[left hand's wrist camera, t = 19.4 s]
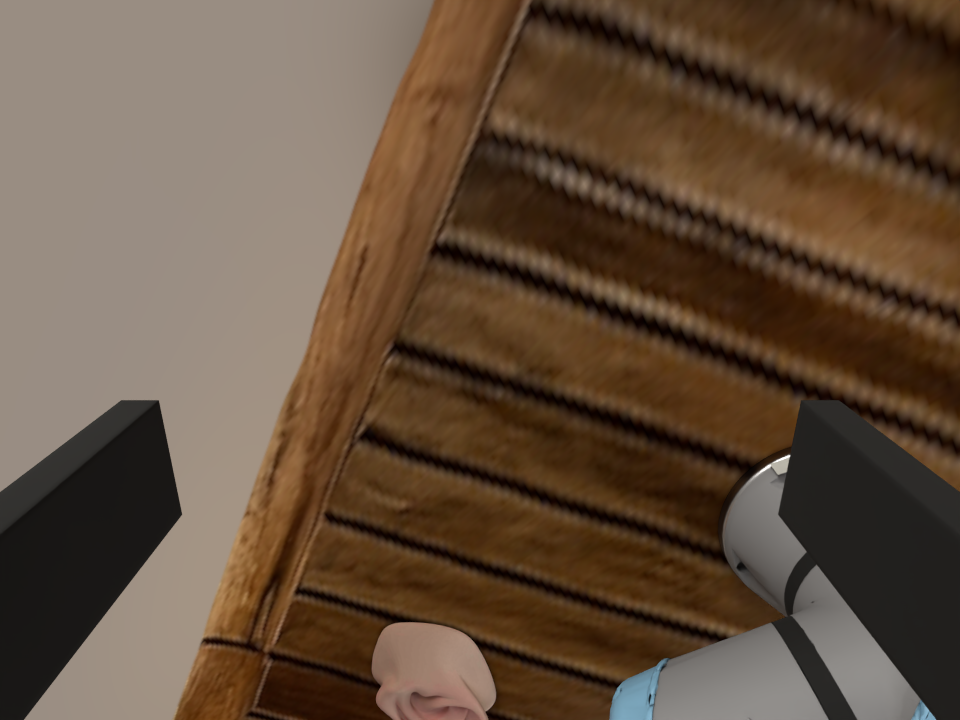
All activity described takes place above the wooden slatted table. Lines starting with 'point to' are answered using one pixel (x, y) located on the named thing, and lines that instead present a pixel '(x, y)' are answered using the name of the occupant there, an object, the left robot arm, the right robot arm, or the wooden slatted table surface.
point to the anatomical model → (431, 674)
